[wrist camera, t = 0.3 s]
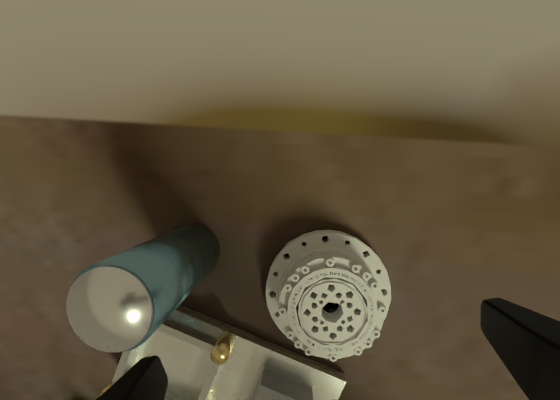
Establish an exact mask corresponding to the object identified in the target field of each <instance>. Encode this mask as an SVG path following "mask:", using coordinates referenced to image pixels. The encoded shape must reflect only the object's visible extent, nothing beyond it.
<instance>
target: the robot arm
mask: <svg viewBox="0 0 560 400" xmlns="http://www.w3.org/2000/svg"><path fill="white" fill-rule="evenodd" d="M480 324H481V329H482V332H483V334H484V335H485V337H486V338H487V340H488V341H489V343H490V344H491V345H492V347H493V348H494V350H495V351H496V353H497V354H498V356H499V357H500V359H501V360H502V362H503V363H504V364H505V366H506V367H507V369H508V370H509V372H510V373H511V375H512V376H513V378H514V379H515V381H516V382H517V383H518V385H519V386H520V388H521V389H522V390H523V392H524V393H525V395H526V396H527V397H528V399H529V400H560V321H557V320H555V319H552V318H550V317H547V316H545V315H542V314H539V313H537V312H534V311H532V310H529V309H527V308H524V307H522V306H519V305H517V304H514V303H512V302H509V301H507V300H504V299H501V298H492V299H486V300H483V301H482V302H481V319H480ZM167 386H168V377H167V374H166V372H165V369H164V367H163V364H162V362H161V360H160V358H159V357H158V356H156V355H154V356H148V357H144V358H142V359H140V360H139V361H138V362H137V363H136V364H135V365H134V366H133V367H131V368H130V369H129V370H128V371H127V372H126V373H125V374H124V375H123V376H122V377H120V378H119V379H118V380H117V381H116V382H115V383H114V384H113V385H112V386H111V387H110V388H108V389H107V390H106V391H105V392H104V393H103V394H102V395H101V396H100V397H99V398H97V399H96V400H165V395H166V391H167Z"/></svg>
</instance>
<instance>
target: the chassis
mask: <svg viewBox="0 0 560 400" xmlns="http://www.w3.org/2000/svg"><path fill="white" fill-rule="evenodd" d="M154 355H156V356H158V357H159V358H160V360H161V362H162V364H163V367H164V369H165V372H166V374H167V377H168V386H167V391H166V395H165V400H338V399H339V397H340V395H341V393H342V390H343V388H344V386H345V384H346V378H345V374H344V373H343V372H340V371H338V370H335V369H333V368H331V367H328V366H326V365H324V364H321V363H319V362H316V361H314V360H312V359H309V358H307V357H305V356H302V355H300V354H297V353H295V352H293V351H290V350H288V349H286V348H283V347H281V346H278V345H276V344H274V343H271V342H269V341H266V340H264V339H262V338H259V337H257V336H255V335H252V334H250V333H247V332H245V331H243V330H240V329H238V328H236V327H233V326H231V325H228V324H226V323H224V322H221V321H219V320H217V319H214V318H212V317H209V316H207V315H205V314H202V313H200V312H198V311H195V310H193V309H190V308H188V307H186V306H183V305H181V304H180V305H179V306H178V307H177V308H176V309H175V310H174V311H173V312H172V314H171V315H170V316H169V317H168V318H167V319H166V320H165V321H164V322H163V323H162V324H161V325H160V327H159V328H158V329H157V330H156V331H155V332H154V333H153V334H152V335H151V336H150V337H149V338H148V340H147V341H145V342H144V343H143V344H142V345H140V346H139V347H137V348H135V349H133V350H129V351H125V352H123V353H122V356H121V358H120V361H119V364H118V367H117V370H116V372H115V375H114V378H113V380H112V381H111V382H110V383H109V384H108V385H107V387H106V388H105V389H104V390H103V391H102V392H101V394H100V396H101V395H102V394H103V393H104V392H105V391H106V390H107V389H108V388H110V387H111V386H112V385H113V384H114V383H115V382H116V381H117V380H118V379H119V378H120V377H122V376H123V375H124V374H125V373H126V372H127V371H128V370H129V369H130V368H131V367H133V366H134V365H135V364H136V363H137V362H138V361H139V360H140V359H142V358H144V357H148V356H154Z"/></svg>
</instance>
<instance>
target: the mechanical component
mask: <svg viewBox="0 0 560 400" xmlns="http://www.w3.org/2000/svg"><path fill="white" fill-rule="evenodd" d="M323 236H327V239H322V238H323ZM345 241H347V242H345ZM302 242H305V243H304V244H303V243H302ZM365 251H367V252H365ZM363 252H365V253H363ZM287 253H289V256H286V255H284V254H287ZM381 289H382V290H381ZM272 291H274V293H273V292H272ZM266 300H267V307H268V309H269V312H270V315H271V317H272V319H273V321H274V322H275V324H276V325H277V327H278V328H279V329H280V330H281V331H282V332H283V333H284V335H285V336H286V337H287V338H288V339H290V340H292V341H293V342H294V345H295V347H296V348H301V349H302V350H304V351H305V354H306V355H308V356H310V355H313V356H317V357H322V358H326V359H330V360H331V361H332V362H335V361H337V359H340V358H344V357H349V356H352V355H354V354H355V355H361V354H362V350H364V349H365V348H370V347H372V342H373V341H374V339H375V338H378V337H380V330H381V329H382V325H383V321H384V319H385V318H386V316H387V312H388V309H389V305H390V302H391V286H390V282H389V278H388V274H387V270H386V269H385V267H384V265H383V264H382V262H381V260H380V259H379V257H378V256H377V255H376V254H375V253H374V251H373V250H372V249H371V248H370V247H368V246H367V245H366V244H364V243H363V242H362V241H361V240H359V239H358V238H357V237H354V236H352V235H349V234H347V233H344V232H341V231H335V230H316V231H312V232H309V233H305V234H303V235H301V236H299V237H297V238H295V239H293V240H292V241H290V242H288V243H287V244H286V245H285V246H284V248H283V249H282V250H281V251H280V252H279V253H278V255H277V256H276V257H275V259H274V261H273V263H272V265H271V267H270V271H269V274H268V278H267V282H266ZM327 303H333V304H334V305H335V304H336V303H338V304H339V306H337V307H335V308H332V309H323V307H324V306H325V305H326V304H327Z"/></svg>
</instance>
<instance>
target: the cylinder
mask: <svg viewBox="0 0 560 400" xmlns="http://www.w3.org/2000/svg"><path fill="white" fill-rule="evenodd" d="M219 255H220V247H219V243H218V240H217V238H216V237H215V235H214V234H213V233H212V232H211V231H210V230H209V229H207V228H206V227H204V226H201V225H198V224H187V225H184V226H181V227H179V228H177V229H174V230H172V231H170V232H167V233H165V234H163V235H160V236H158V237H155V238H153V239H151V240H148V241H146V242H144V243H141V244H139V245H137V246H134V247H132V248H130V249H127V250H125V251H123V252H120V253H118V254H116V255H113V256H111V257H108V258H106V259H104V260H101V261H99V262H97V263H94V264H92V265H90V266H88V267H86V268H85V269H84V270H82V271H81V272H80V273H79V274H78V275H77V277H76V278H75V279H74V281H73V283H72V285H71V287H70V290H69V293H68V296H67V303H66V310H67V316H68V319H69V322H70V325H71V327H72V328H73V330H74V332H75V333H76V334H77V336H78V337H79V338H80V339H81V340H82V341H83V342H85V343H86V344H87V345H89V346H91V347H93V348H95V349H97V350H100V351H104V352H125V351H129V350H133V349H135V348H137V347H139V346H140V345H142V344H143V343H144V342H145V341H147V340H148V338H149V337H150V336H151V335H152V334H153V333H154V332H155V331H156V330H157V329H158V328H159V327H160V325H161V324H162V323H163V322H164V321H165V320H166V319H167V318H168V317H169V316H170V315H171V314H172V312H173V311H174V310H175V309H176V308H177V307H178V306H179V305H180V304H181V303H182V302H183V301H184V300H185V298H186V297H187V296H188V295H189V294H190V293H191V292H192V291H193V290H194V289H195V288H196V287H197V285H198V284H199V283H200V282H201V281H202V280H203V279H204V278H205V277H206V276H207V275H208V274H209V272H210V271H211V270H212V269H213V268H214V267H215V266H216V264H217V262H218V259H219Z"/></svg>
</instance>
